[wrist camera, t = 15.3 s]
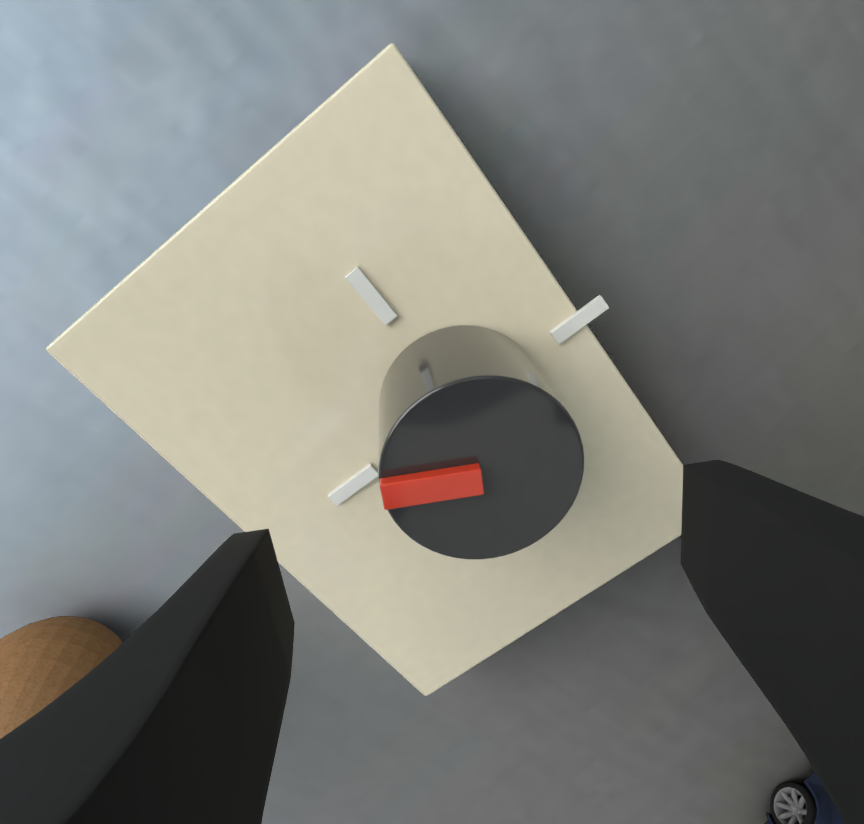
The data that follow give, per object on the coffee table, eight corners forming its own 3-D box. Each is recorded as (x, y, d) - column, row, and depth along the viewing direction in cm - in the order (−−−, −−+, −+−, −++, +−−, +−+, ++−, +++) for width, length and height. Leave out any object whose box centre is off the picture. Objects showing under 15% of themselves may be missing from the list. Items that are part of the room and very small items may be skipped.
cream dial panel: (694, 459, 20) (739, 504, 17) (420, 638, 22) (426, 702, 19) (411, 38, 15) (417, 17, 12) (89, 320, 17) (39, 351, 14)
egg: (-3, 582, 19) (-155, 757, 14) (148, 579, 20) (59, 748, 14) (28, 693, 21) (-95, 887, 16) (167, 688, 22) (94, 876, 16)
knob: (537, 312, 15) (585, 365, 11) (548, 464, 16) (594, 552, 13) (365, 339, 15) (360, 401, 11) (393, 489, 16) (396, 584, 13)
